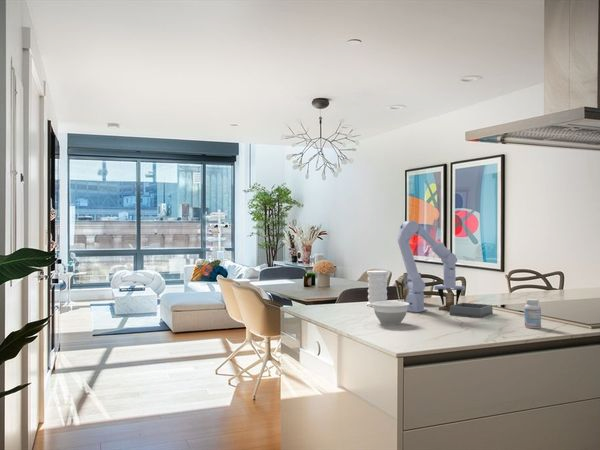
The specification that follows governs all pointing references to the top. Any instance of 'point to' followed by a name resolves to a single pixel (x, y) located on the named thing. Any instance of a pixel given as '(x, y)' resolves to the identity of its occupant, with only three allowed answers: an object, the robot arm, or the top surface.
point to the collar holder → (444, 308)
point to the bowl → (390, 311)
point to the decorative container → (377, 286)
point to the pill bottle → (532, 314)
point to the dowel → (449, 299)
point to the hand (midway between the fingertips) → (449, 304)
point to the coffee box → (406, 289)
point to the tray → (471, 310)
